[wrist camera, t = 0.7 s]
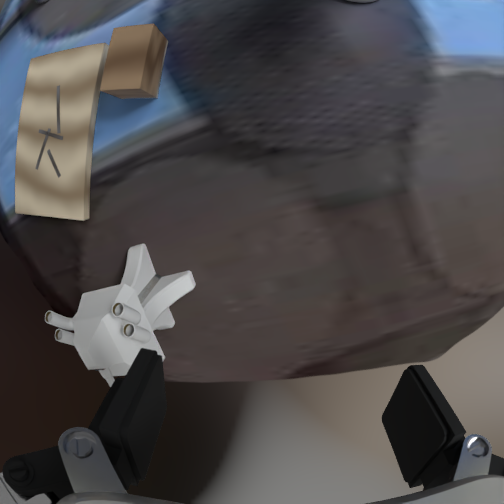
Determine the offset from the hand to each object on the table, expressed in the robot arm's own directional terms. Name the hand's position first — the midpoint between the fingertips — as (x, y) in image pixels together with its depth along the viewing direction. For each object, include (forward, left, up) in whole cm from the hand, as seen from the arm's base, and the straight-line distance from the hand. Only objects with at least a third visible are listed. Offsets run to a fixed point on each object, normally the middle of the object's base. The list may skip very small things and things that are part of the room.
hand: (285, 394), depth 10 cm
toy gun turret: (+11, -14, -28) cm, 32 cm away
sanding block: (-18, -18, -28) cm, 37 cm away
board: (-10, -31, -27) cm, 42 cm away
